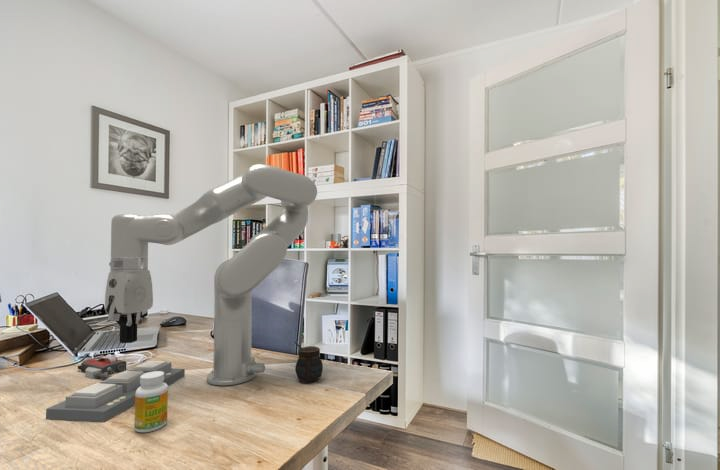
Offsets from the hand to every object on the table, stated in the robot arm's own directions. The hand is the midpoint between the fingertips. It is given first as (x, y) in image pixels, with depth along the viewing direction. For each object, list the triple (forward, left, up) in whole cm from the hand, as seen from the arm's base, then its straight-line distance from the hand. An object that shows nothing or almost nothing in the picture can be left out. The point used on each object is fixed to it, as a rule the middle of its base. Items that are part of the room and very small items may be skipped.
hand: (128, 341), depth 80 cm
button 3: (0, +8, -10) cm, 13 cm away
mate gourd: (-41, -13, -12) cm, 45 cm away
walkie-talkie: (+18, -13, -13) cm, 25 cm away
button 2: (0, 0, -10) cm, 10 cm away
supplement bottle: (-17, +13, -12) cm, 25 cm away
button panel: (0, 0, -12) cm, 12 cm away
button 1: (0, -8, -10) cm, 12 cm away
